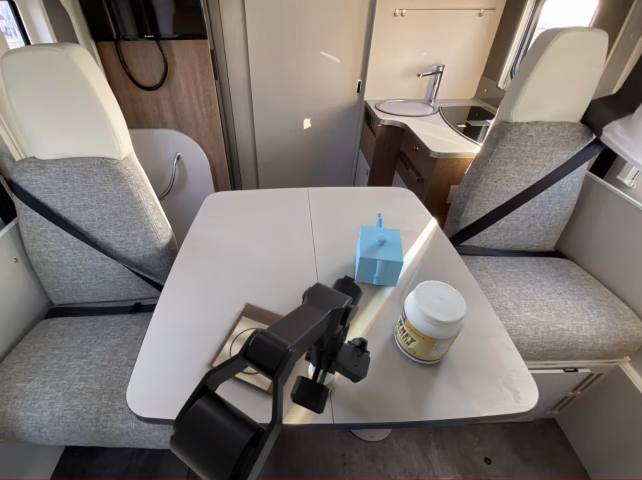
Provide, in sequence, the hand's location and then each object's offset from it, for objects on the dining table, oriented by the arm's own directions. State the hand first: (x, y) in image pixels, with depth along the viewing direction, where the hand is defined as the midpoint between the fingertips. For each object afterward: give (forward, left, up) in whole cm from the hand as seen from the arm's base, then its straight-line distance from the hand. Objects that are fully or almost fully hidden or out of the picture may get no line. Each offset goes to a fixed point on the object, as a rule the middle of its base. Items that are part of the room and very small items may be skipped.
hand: (320, 376), depth 65 cm
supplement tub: (+19, -19, -4) cm, 27 cm away
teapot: (+39, -4, -4) cm, 40 cm away
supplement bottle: (0, 0, -4) cm, 5 cm away
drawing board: (+3, +17, -4) cm, 18 cm away
